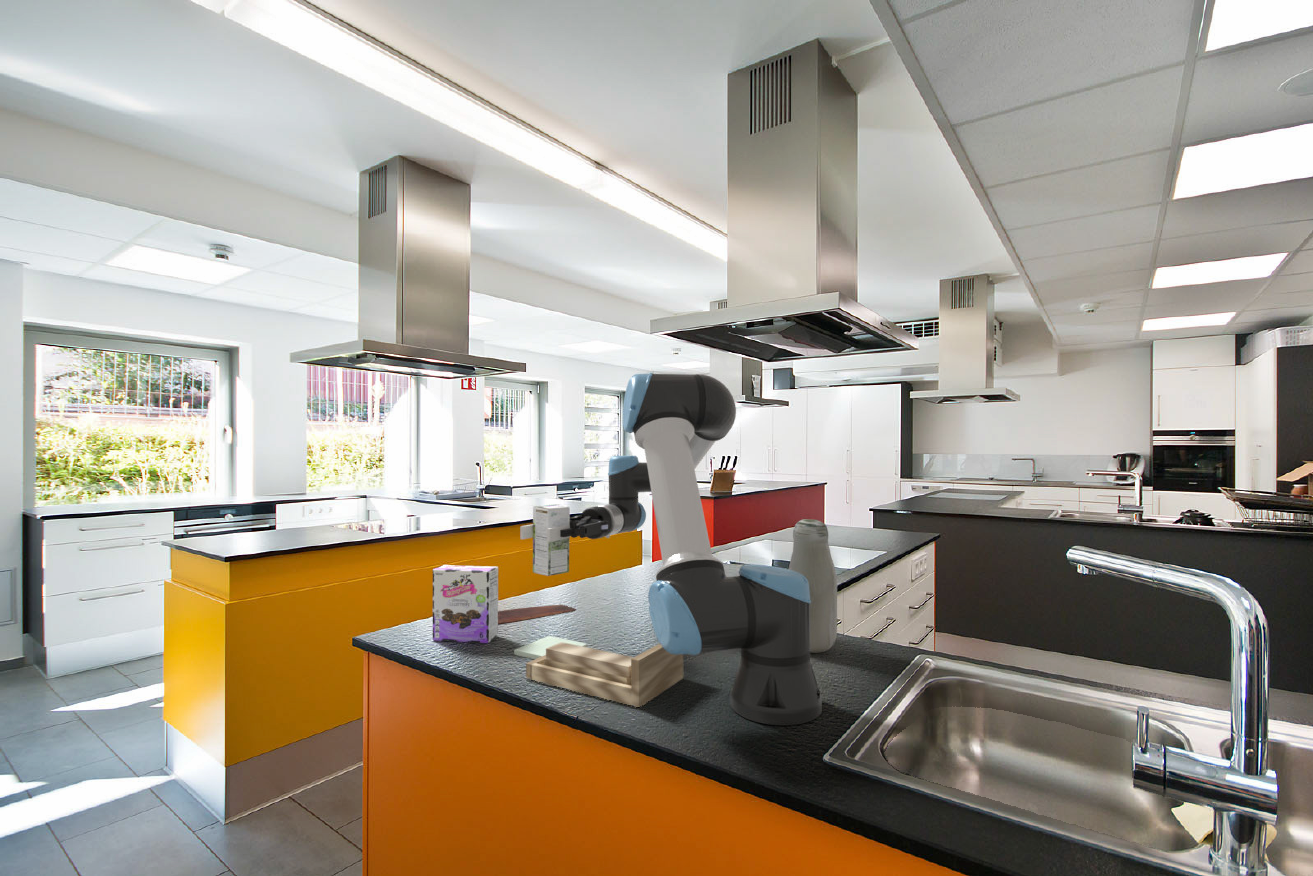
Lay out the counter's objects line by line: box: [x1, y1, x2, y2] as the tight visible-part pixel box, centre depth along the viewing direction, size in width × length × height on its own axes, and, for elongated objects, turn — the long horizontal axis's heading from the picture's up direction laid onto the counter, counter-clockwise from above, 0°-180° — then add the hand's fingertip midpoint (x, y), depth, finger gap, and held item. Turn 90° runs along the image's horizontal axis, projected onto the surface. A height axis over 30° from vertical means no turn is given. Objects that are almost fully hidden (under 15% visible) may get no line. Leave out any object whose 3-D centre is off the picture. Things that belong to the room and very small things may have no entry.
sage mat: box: [513, 635, 589, 660], centre depth 133 cm, size 11×11×1 cm
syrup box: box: [532, 503, 571, 577], centre depth 133 cm, size 6×6×14 cm
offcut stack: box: [544, 642, 635, 686], centre depth 114 cm, size 20×4×6 cm, turn 58°
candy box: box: [432, 564, 499, 644], centre depth 142 cm, size 14×6×16 cm, turn 80°
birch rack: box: [525, 643, 684, 708], centre depth 117 cm, size 26×16×8 cm, turn 59°
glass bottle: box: [787, 518, 838, 654], centre depth 132 cm, size 10×10×28 cm
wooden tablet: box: [498, 604, 577, 625], centre depth 162 cm, size 26×2×10 cm
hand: (534, 534), depth 129 cm, fingers closed on syrup box, 7 cm apart
